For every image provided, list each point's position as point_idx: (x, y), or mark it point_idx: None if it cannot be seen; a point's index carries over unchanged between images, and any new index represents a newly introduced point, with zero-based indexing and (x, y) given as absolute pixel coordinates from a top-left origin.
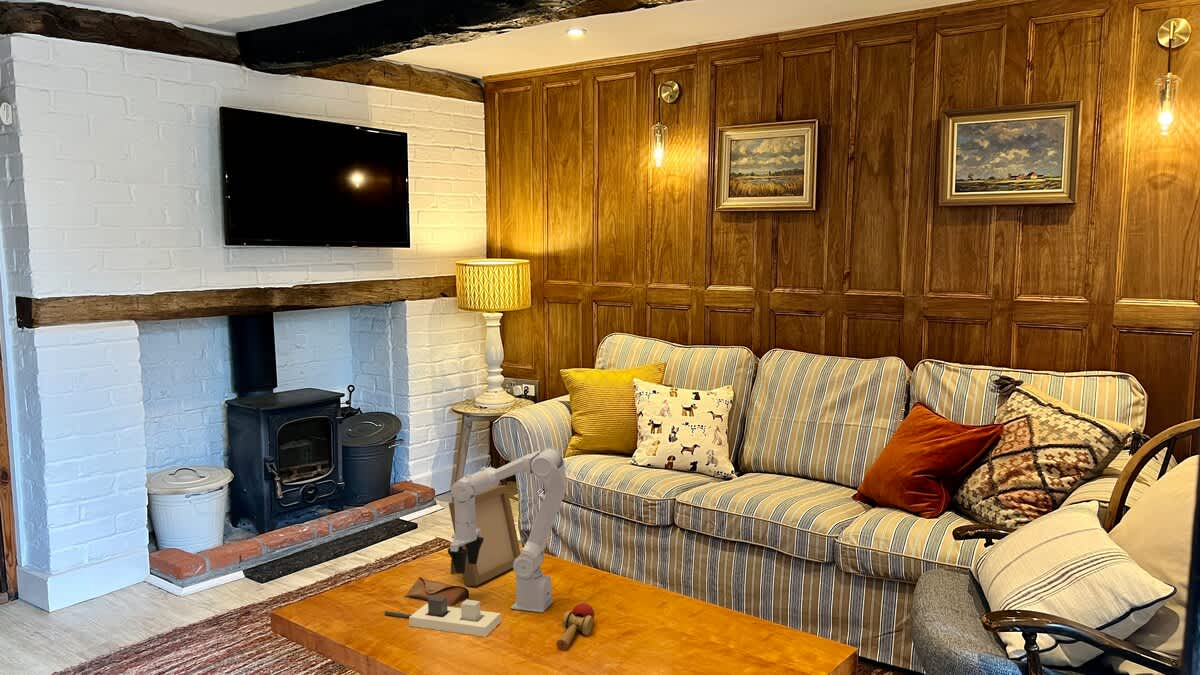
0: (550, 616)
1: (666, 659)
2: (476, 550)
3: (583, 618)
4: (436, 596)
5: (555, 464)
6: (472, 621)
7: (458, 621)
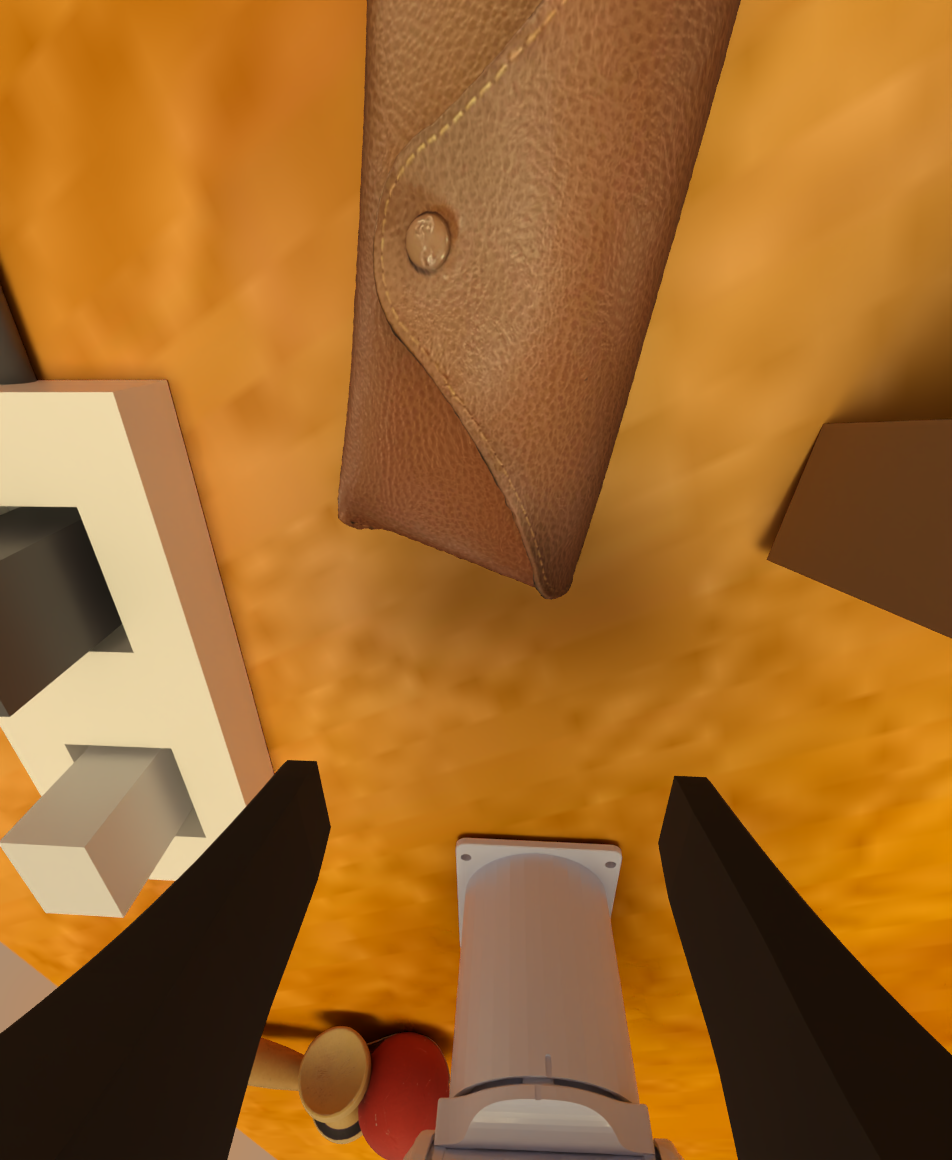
0: (444, 962)
1: (301, 1155)
2: (738, 1107)
3: (331, 1124)
4: None
5: None
6: None
7: (42, 751)
